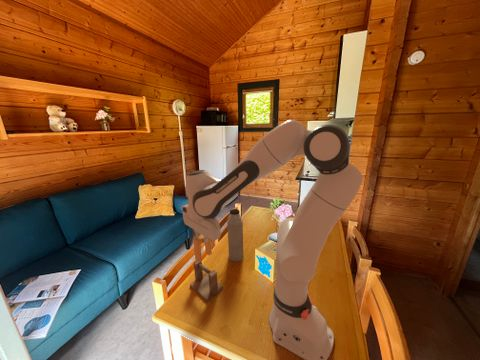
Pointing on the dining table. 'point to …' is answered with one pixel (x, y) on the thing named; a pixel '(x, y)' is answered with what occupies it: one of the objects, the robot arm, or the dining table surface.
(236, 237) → the thermos bottle
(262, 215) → the dining table surface
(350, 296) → the dining table surface
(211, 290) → the hook rail
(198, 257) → the cord bight
